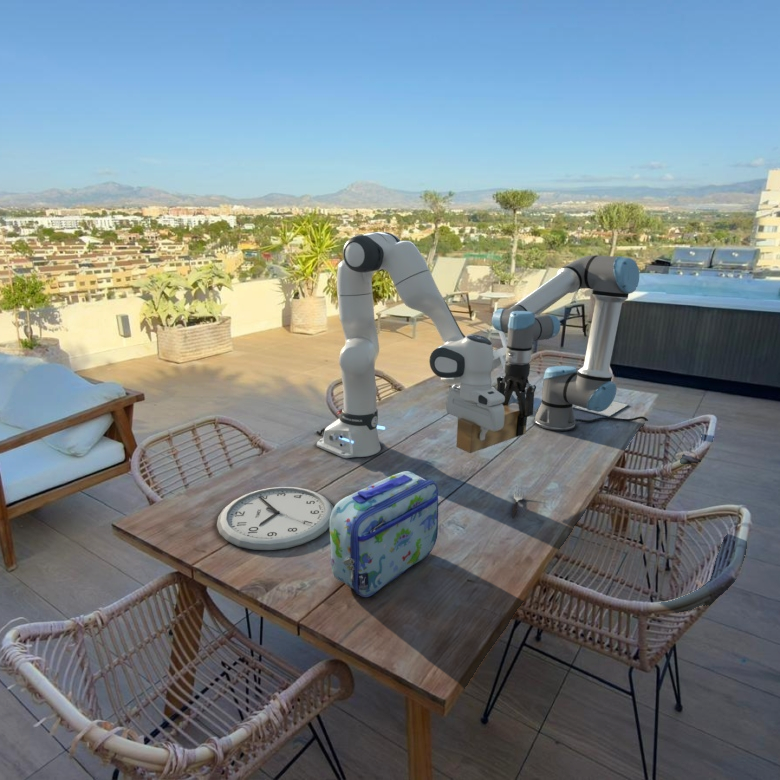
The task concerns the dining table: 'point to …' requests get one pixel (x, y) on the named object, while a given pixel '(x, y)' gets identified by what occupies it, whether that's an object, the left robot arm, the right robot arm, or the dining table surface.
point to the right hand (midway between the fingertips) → (511, 431)
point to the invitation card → (609, 411)
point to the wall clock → (275, 518)
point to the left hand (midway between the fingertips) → (472, 435)
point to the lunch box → (383, 531)
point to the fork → (517, 498)
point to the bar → (470, 430)
